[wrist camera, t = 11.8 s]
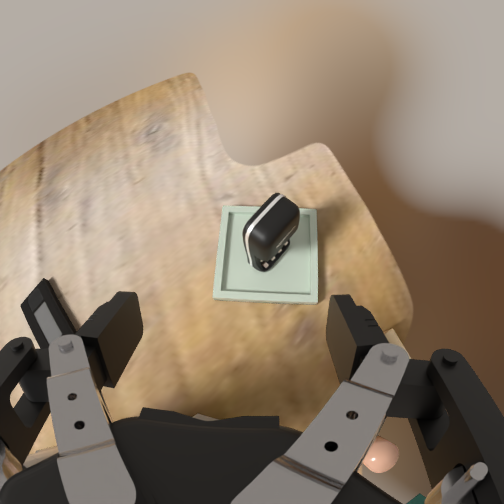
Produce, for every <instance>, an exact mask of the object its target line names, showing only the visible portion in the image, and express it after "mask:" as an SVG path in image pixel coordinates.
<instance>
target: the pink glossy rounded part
mask: <svg viewBox="0 0 504 504" xmlns="http://www.w3.org/2000/svg"><path fill="white" fill-rule="evenodd" d="M398 457H399V450H398V448H397V446H396V445H395V444H393V443H391V442H389V441H387V440H386V439H384V438H382V437H380V436H378V435H377V437H376V439H375V441H374V443H373V445H372V447H371V448H370V450H369V452H368V454H367V456H366V457H365V459H364V461H363V464H365V465H366V466H367V467H368V468H369V469H370V470H371V471H373V472H376V473H381V472H385V471H387V470H389V469H390V468H392V467H393V466H394V464H395V463H396V461H397V460H398Z"/></svg>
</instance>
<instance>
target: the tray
mask: <svg viewBox="0 0 504 504" xmlns="http://www.w3.org/2000/svg"><path fill="white" fill-rule="evenodd" d="M259 208H260V207H256V206H223V208H222V216H221V225H220V233H219V242H218V250H217V259H216V268H215V278H214V288H213V299H214V300H222V301H238V302H257V303H278V304H306V305H316V304H317V303H318V245H317V211H316V209H303V208H299V210H300V220H299V225H298V229H297V230H296V232H295V233H294V234H293V235H292V236H291V238H290V245H289V247H288V248H287V250H286V251H285V252H284V253H283V254H282V256H281V257H280V258H279V259H278V260H277V261H276V263H275V264H274V265H273V266H272V267H271V268H270V269H269V270H268V271H267V272H260V271H258V270H256V269H255V268H254V267H251V266H250V264H249V263H248V260H247V254H246V251H245V247H244V243H243V236H242V232H243V228H244V226H245V224H246V223H247V221H248V220H249V219H250V218H251V217H252V216H253V215H254V213H255V212H256V211H257V210H258V209H259Z"/></svg>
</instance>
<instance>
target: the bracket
mask: <svg viewBox="0 0 504 504" xmlns="http://www.w3.org/2000/svg"><path fill="white" fill-rule="evenodd" d="M425 499H426V497H424V496H423V495H421V494H420V493H419V494H418V495H417V496H415V497H414V498H413V499H412V500H410V501H409V502H408V503H406V504H424V503H425Z"/></svg>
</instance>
